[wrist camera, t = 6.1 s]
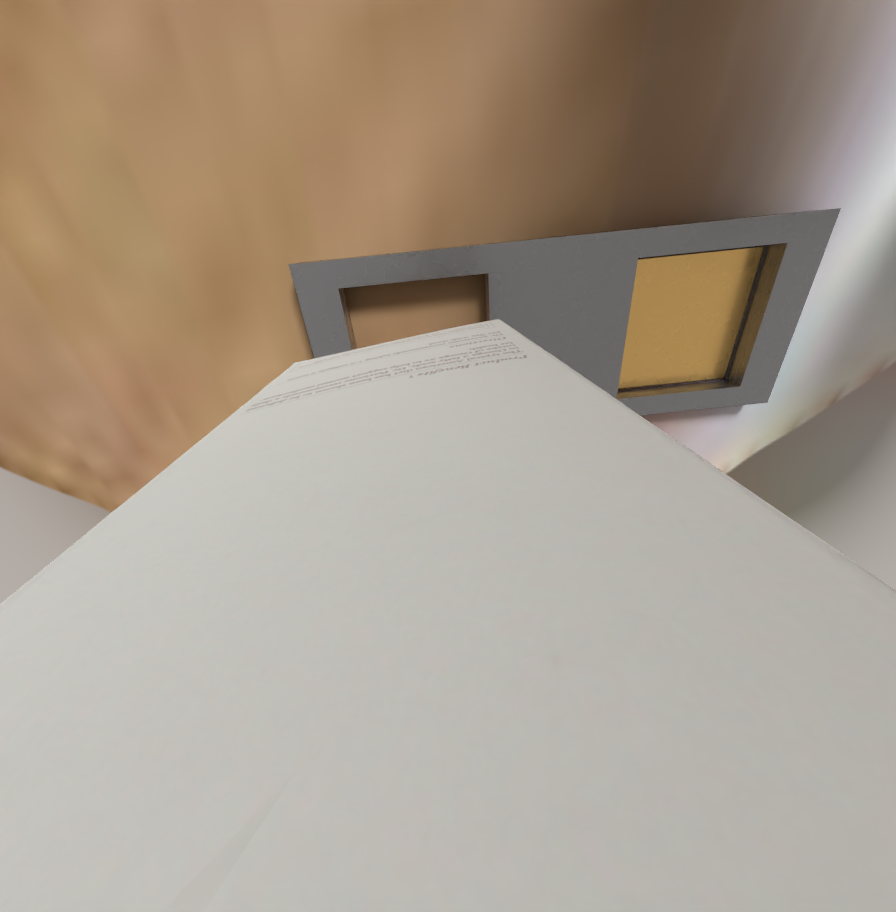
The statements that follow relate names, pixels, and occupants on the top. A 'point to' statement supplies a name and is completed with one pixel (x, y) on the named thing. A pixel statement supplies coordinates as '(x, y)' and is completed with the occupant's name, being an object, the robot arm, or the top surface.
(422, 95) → the top surface
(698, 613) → the supplement box
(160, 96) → the top surface
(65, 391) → the top surface
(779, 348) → the grey flat plate
